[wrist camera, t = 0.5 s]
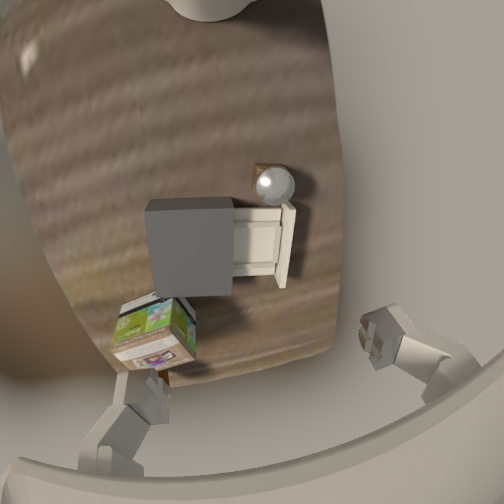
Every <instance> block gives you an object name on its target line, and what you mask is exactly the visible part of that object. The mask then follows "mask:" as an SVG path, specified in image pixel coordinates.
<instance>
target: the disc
mask: <svg viewBox="0 0 504 504" xmlns="http://www.w3.org/2000/svg"><path fill="white" fill-rule="evenodd" d="M254 187H255V191H256V193H257V195H258V196H259V198H260V199H261V200H262V201H263V202H264V203H266V204H268V205H272V206H277V205H281V204H284V203H285V202H287V201H288V200H289V199H290V198H291V197H292V195H293V193H294V190H295V182H294V179H293V177H292V175H291V174H290V173H289V172H288V171H287V170H285V169H284V168H282V167H280V166H275V165H274V166H268V167H265V168H264V169H262V170H261V171H260V172H259V173H258V174H257V176H256V178H255V182H254Z"/></svg>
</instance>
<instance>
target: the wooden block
mask: <svg viewBox="0 0 504 504" xmlns="http://www.w3.org/2000/svg"><path fill="white" fill-rule="evenodd" d="M274 165H275V166H280V167H282V168H284V169H285V170H287V171H288V172H289V170H288V169H287V168H285V167H284V166H283V165H282V164H270V163H254V172H253V188H252V189H253V191H254V193H255V194H256V196H257V198H259V196H258V195H257V193H256V191H255V187H254V182H255V178H256V176H257V174H258V173H259V172H260V171H261V170H262V169H264V168H265V167H268V166H274Z"/></svg>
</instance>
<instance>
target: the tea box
mask: <svg viewBox="0 0 504 504" xmlns="http://www.w3.org/2000/svg"><path fill="white" fill-rule="evenodd" d="M195 322H196V312H195V311H194V309H193V308H192V307H191V306H190V304H189V303H188V301H187V300H186V298H185V297H170V298H157V297H156V292H153V293H150V294H148V295H146V296H143V297H140V298H138V299H136V300H133V301H131V302H128V303H126V304H124V305H122V308H121V311H120V315H119V318H118V321H117V325H116V328H115V332H114V336H113V339H112V343H111V347H110V352H112V353H113V354H114V355H115V356H116V357H117V358H118V359H119V360H120V361H121V362H122V363H123V364H124V365H125V366H126V367H127V368H129V369H130V370H138V369H147V368H155V369H156V370H157V371H160V370H163V369H167V368H170V367H174V366H177V365H181V364H184V363H187V362H190V361H194V360H195V358H196V323H195Z"/></svg>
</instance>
